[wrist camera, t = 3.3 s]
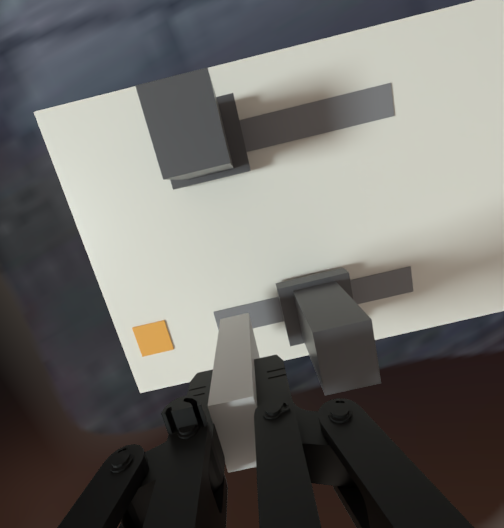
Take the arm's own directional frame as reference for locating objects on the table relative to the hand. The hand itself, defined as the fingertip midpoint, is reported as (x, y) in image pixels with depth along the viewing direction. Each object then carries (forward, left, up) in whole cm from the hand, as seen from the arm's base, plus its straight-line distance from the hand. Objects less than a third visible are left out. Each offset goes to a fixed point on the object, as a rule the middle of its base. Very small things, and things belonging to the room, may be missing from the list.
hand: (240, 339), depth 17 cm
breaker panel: (-4, -5, -6) cm, 9 cm away
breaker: (0, -10, -2) cm, 10 cm away
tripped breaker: (-4, 0, -2) cm, 5 cm away
